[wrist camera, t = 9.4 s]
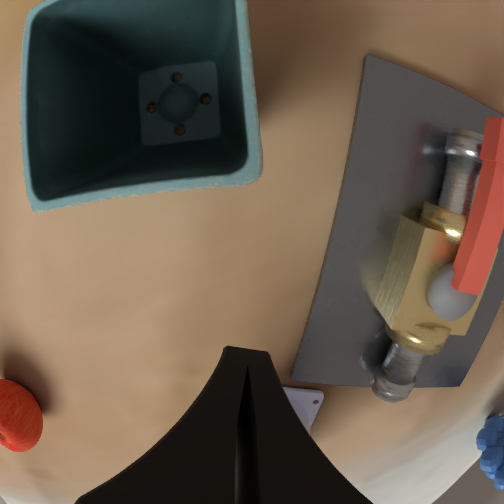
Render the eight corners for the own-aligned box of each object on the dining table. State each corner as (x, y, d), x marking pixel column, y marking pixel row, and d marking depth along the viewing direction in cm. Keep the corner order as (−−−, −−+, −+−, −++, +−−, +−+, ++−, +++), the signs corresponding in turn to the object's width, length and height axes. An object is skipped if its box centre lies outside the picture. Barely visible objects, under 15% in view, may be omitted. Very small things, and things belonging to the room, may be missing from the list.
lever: (457, 315, 16) (472, 331, 14) (418, 309, 16) (433, 325, 14) (511, 136, 13) (532, 138, 11) (474, 114, 13) (495, 112, 11)
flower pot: (250, 26, 15) (242, -58, 7) (263, 168, 18) (265, 184, 9) (111, 53, 16) (25, 9, 7) (120, 185, 18) (28, 215, 10)
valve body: (456, 382, 23) (477, 413, 18) (290, 375, 22) (294, 418, 18) (536, 140, 16) (574, 144, 12) (363, 56, 15) (390, 34, 11)
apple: (-8, 355, 24) (-49, 397, 16) (48, 387, 24) (9, 440, 17) (5, 402, 26) (-26, 443, 19) (57, 431, 27) (29, 480, 19)
